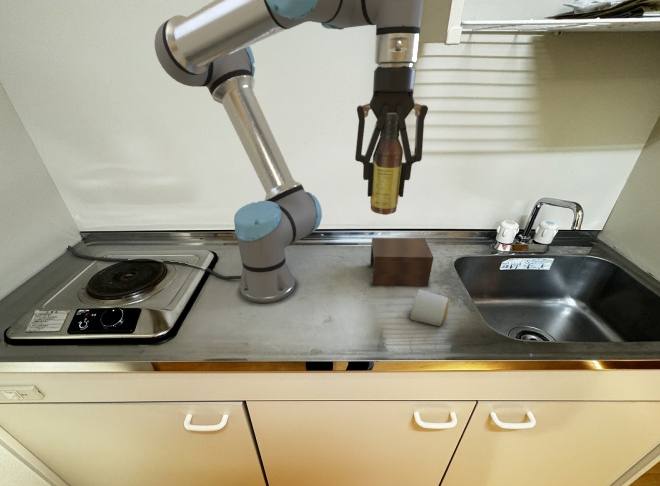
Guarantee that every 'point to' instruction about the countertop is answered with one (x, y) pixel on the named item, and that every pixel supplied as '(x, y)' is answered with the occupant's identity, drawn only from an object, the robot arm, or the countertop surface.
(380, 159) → the sauce bottle
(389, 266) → the wooden brown block
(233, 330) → the countertop surface
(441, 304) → the white cylinder
